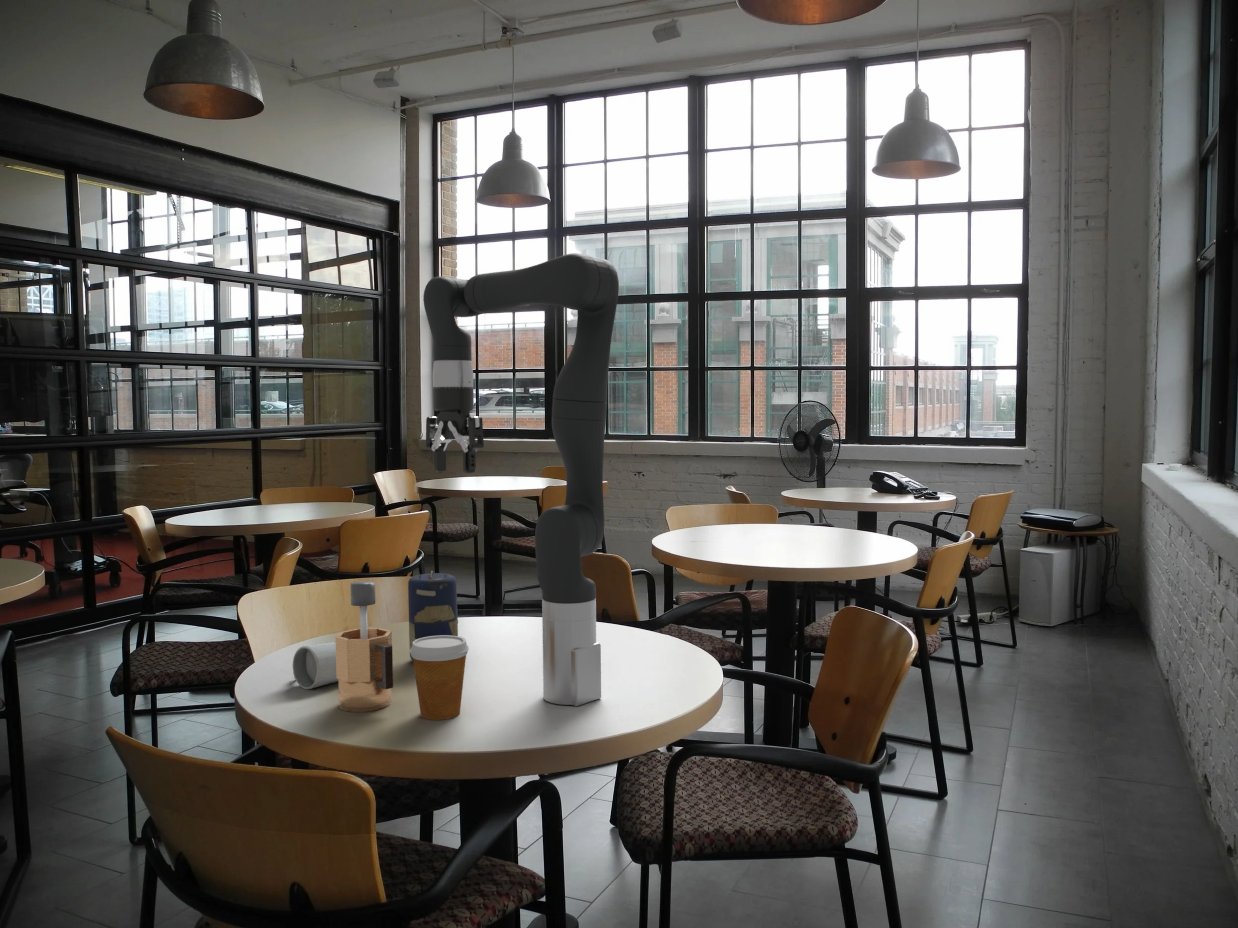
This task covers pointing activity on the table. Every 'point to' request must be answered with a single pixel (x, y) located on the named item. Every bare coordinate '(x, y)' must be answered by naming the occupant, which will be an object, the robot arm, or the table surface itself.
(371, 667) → the wooden pitcher
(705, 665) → the table surface
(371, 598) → the plunger
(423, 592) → the canister
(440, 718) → the disposable coffee cup
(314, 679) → the ceramic mug
